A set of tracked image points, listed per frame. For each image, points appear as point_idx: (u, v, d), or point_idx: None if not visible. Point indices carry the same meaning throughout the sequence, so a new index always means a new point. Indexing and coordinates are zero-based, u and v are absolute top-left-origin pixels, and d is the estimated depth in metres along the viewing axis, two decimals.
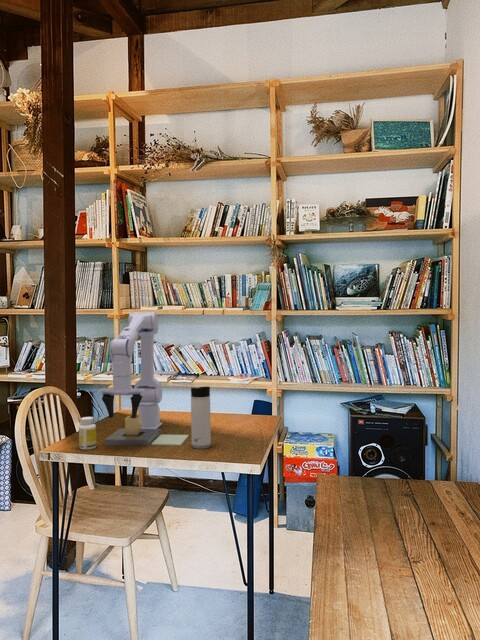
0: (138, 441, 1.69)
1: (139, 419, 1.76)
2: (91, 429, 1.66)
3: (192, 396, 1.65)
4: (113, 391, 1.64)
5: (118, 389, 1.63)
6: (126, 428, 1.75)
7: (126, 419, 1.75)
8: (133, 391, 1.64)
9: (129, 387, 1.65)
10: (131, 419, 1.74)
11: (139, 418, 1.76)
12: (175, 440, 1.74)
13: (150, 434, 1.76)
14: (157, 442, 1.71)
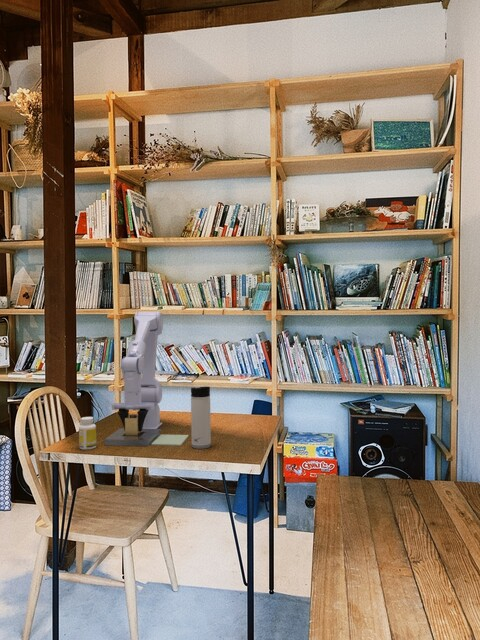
0: (138, 441, 1.69)
1: None
2: (91, 429, 1.66)
3: (192, 396, 1.65)
4: (124, 406, 1.74)
5: (129, 404, 1.74)
6: (126, 428, 1.75)
7: (126, 419, 1.75)
8: (143, 406, 1.74)
9: (139, 402, 1.75)
10: (131, 419, 1.74)
11: None
12: (175, 440, 1.74)
13: (150, 434, 1.76)
14: (157, 442, 1.71)
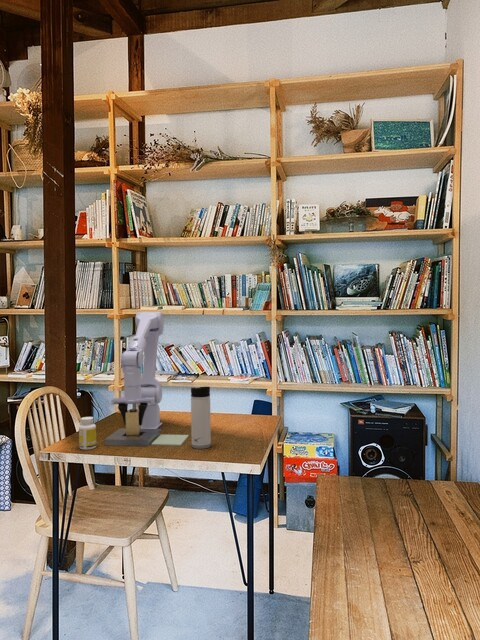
0: (138, 441, 1.69)
1: None
2: (91, 429, 1.66)
3: (192, 396, 1.65)
4: (125, 400, 1.74)
5: (130, 398, 1.73)
6: (127, 422, 1.74)
7: (127, 413, 1.74)
8: (144, 400, 1.75)
9: (140, 396, 1.76)
10: (132, 413, 1.74)
11: None
12: (175, 440, 1.74)
13: (150, 434, 1.76)
14: (157, 442, 1.71)
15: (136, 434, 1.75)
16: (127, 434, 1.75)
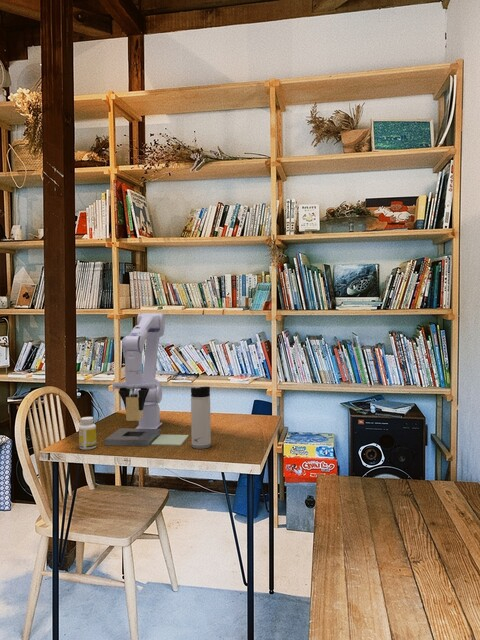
0: (138, 441, 1.69)
1: None
2: (91, 429, 1.66)
3: (192, 396, 1.65)
4: (125, 385, 1.74)
5: (130, 383, 1.73)
6: (127, 407, 1.74)
7: (127, 398, 1.74)
8: (144, 385, 1.74)
9: (140, 381, 1.75)
10: (132, 398, 1.74)
11: None
12: (175, 440, 1.74)
13: (150, 434, 1.76)
14: (157, 442, 1.71)
15: (136, 419, 1.74)
16: (127, 419, 1.74)
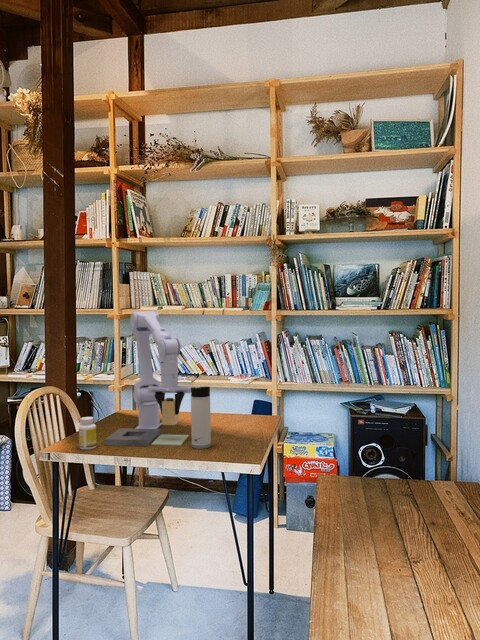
0: (138, 441, 1.69)
1: None
2: (91, 429, 1.66)
3: (192, 396, 1.65)
4: (162, 389, 1.72)
5: (166, 387, 1.72)
6: (163, 411, 1.73)
7: (163, 402, 1.73)
8: (180, 389, 1.73)
9: (176, 385, 1.74)
10: (168, 402, 1.73)
11: None
12: (175, 440, 1.74)
13: (150, 434, 1.76)
14: (157, 442, 1.71)
15: (172, 423, 1.73)
16: (163, 423, 1.73)
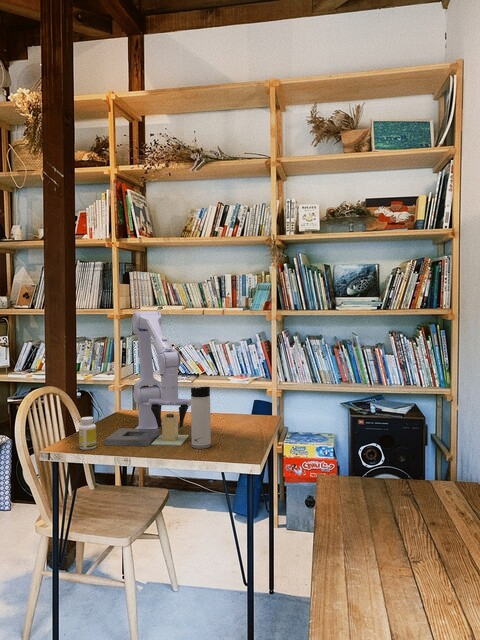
0: (138, 441, 1.69)
1: (176, 418, 1.75)
2: (91, 429, 1.66)
3: (192, 396, 1.65)
4: (162, 402, 1.73)
5: (167, 400, 1.72)
6: (163, 427, 1.73)
7: (163, 418, 1.73)
8: (181, 402, 1.73)
9: (177, 398, 1.74)
10: (168, 418, 1.73)
11: (176, 417, 1.75)
12: None
13: (150, 434, 1.76)
14: (157, 442, 1.71)
15: (172, 439, 1.73)
16: (163, 439, 1.73)
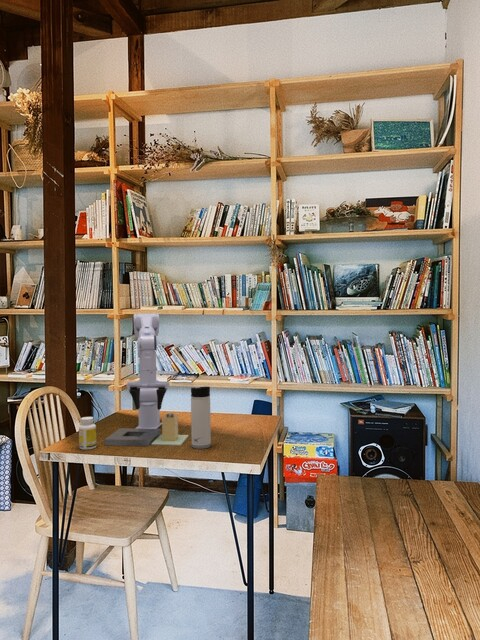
0: (138, 441, 1.69)
1: (176, 418, 1.75)
2: (91, 429, 1.66)
3: (192, 396, 1.65)
4: (140, 384, 1.75)
5: (145, 382, 1.74)
6: (163, 427, 1.73)
7: (163, 418, 1.73)
8: (158, 384, 1.75)
9: (155, 380, 1.76)
10: (168, 418, 1.73)
11: (176, 417, 1.75)
12: None
13: (150, 434, 1.76)
14: (157, 442, 1.71)
15: (172, 439, 1.73)
16: (163, 439, 1.73)
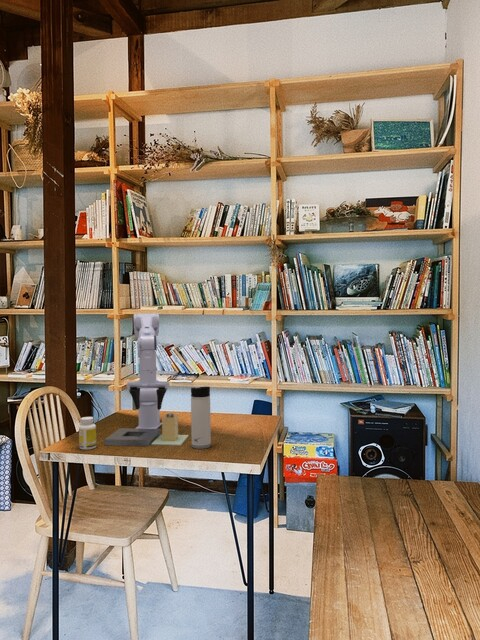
0: (138, 441, 1.69)
1: (176, 418, 1.75)
2: (91, 429, 1.66)
3: (192, 396, 1.65)
4: (140, 384, 1.75)
5: (145, 382, 1.74)
6: (163, 427, 1.73)
7: (163, 418, 1.73)
8: (158, 384, 1.75)
9: (155, 380, 1.76)
10: (168, 418, 1.73)
11: (176, 417, 1.75)
12: None
13: (150, 434, 1.76)
14: (157, 442, 1.71)
15: (172, 439, 1.73)
16: (163, 439, 1.73)
